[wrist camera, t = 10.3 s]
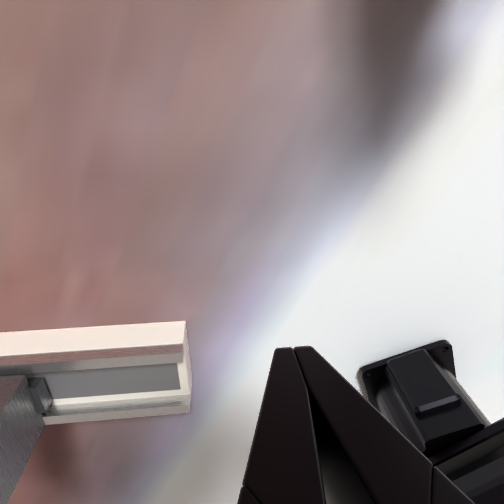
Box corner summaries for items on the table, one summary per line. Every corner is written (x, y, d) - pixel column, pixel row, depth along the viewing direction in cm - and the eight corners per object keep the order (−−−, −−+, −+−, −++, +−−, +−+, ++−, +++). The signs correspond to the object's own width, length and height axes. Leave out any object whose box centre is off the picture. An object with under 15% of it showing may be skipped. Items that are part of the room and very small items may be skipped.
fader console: (185, 320, 22) (179, 368, 19) (192, 378, 24) (188, 430, 21) (-52, 335, 21) (-106, 389, 18) (-22, 394, 23) (-64, 452, 20)
